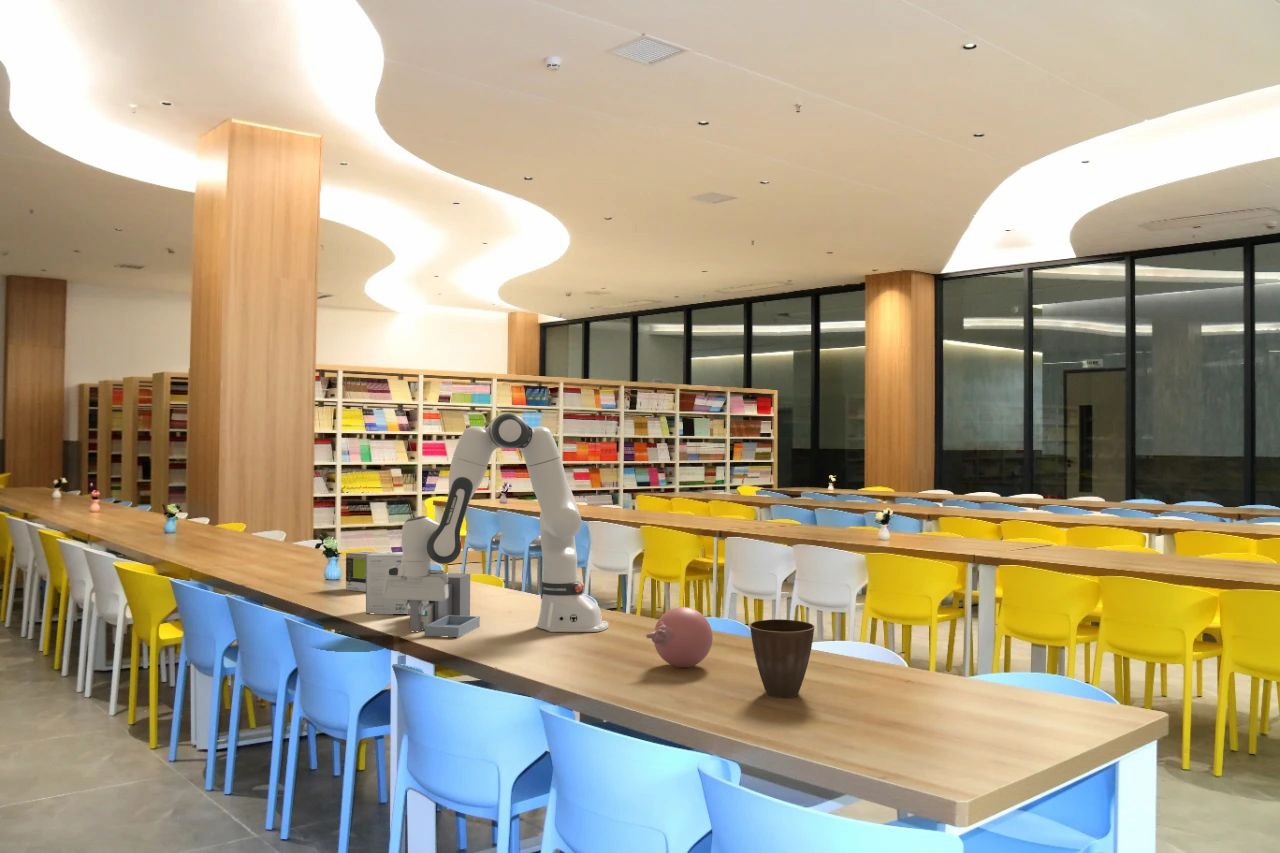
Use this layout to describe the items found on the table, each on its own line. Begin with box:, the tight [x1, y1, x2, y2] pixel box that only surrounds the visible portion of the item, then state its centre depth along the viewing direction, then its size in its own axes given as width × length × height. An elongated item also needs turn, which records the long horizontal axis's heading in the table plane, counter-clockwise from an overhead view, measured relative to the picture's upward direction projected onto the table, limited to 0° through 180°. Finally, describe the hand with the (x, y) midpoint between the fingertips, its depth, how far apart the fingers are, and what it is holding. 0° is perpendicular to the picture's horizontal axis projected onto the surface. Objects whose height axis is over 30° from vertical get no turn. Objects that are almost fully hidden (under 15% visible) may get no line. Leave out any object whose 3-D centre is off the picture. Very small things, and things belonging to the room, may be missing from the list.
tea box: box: [345, 550, 390, 593], centre depth 384 cm, size 15×10×15 cm
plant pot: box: [749, 618, 815, 699], centre depth 231 cm, size 15×15×16 cm
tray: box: [424, 615, 481, 638], centre depth 303 cm, size 11×19×3 cm, turn 170°
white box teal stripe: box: [409, 600, 435, 632], centre depth 308 cm, size 5×13×10 cm, turn 170°
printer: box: [410, 572, 471, 621], centre depth 320 cm, size 14×22×14 cm, turn 170°
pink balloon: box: [645, 606, 714, 668], centre depth 257 cm, size 15×20×15 cm
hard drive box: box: [365, 552, 410, 615], centre depth 335 cm, size 16×8×20 cm, turn 84°
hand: (415, 614), depth 303 cm, fingers closed on white box teal stripe, 2 cm apart
